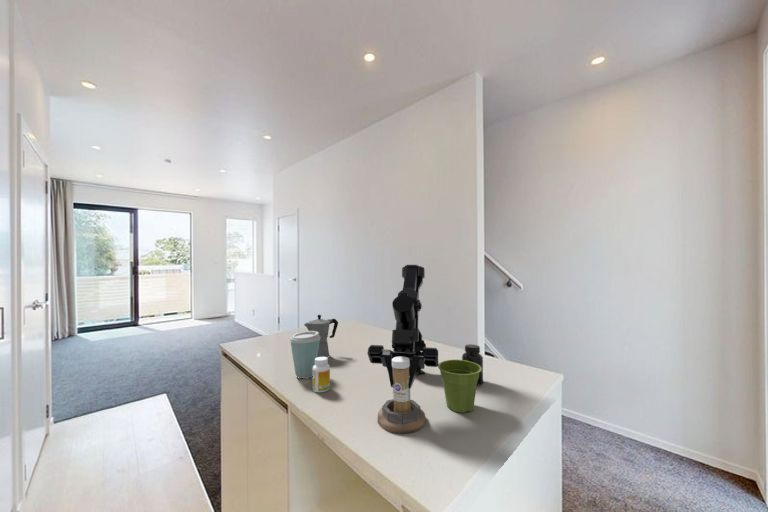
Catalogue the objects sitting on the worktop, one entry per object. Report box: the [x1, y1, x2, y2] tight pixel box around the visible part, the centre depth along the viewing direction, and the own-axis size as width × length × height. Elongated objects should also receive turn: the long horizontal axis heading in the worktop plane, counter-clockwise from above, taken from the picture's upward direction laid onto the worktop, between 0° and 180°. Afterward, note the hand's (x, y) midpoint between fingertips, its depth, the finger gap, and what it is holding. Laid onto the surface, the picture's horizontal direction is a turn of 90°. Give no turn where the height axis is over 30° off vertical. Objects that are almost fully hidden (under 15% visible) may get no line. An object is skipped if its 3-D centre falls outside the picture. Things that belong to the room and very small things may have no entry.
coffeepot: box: [303, 314, 339, 357], centre depth 129 cm, size 15×9×18 cm, turn 125°
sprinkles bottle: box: [392, 356, 412, 414], centre depth 77 cm, size 5×5×13 cm
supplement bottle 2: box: [461, 344, 484, 386], centre depth 101 cm, size 7×7×12 cm
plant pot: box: [437, 359, 482, 414], centre depth 84 cm, size 12×12×11 cm
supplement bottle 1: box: [311, 357, 331, 393], centre depth 96 cm, size 5×5×10 cm
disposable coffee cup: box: [289, 330, 321, 379], centre depth 107 cm, size 11×11×15 cm
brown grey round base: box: [377, 398, 426, 435], centre depth 76 cm, size 12×12×4 cm
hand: (400, 387), depth 75 cm, fingers closed on sprinkles bottle, 4 cm apart
